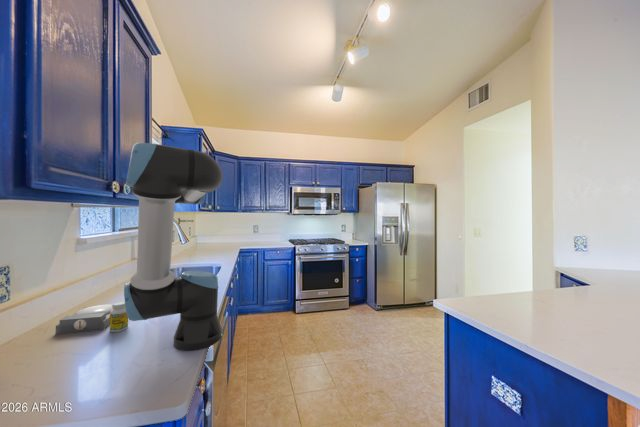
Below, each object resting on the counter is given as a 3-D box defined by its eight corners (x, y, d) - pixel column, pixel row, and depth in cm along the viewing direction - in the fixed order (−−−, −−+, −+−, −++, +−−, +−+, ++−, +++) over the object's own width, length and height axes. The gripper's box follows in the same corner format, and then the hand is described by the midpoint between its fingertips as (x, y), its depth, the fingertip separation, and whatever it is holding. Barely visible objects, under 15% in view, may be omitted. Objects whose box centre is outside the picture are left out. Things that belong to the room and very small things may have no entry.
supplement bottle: (128, 324, 98) (129, 300, 98) (127, 330, 94) (128, 304, 94) (110, 328, 95) (111, 302, 95) (108, 333, 91) (109, 306, 91)
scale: (103, 330, 94) (103, 316, 94) (54, 334, 89) (55, 320, 89) (124, 311, 111) (124, 300, 111) (84, 314, 107) (84, 303, 107)
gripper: (169, 217, 103) (168, 270, 102) (155, 216, 121) (154, 261, 120) (147, 217, 98) (146, 272, 97) (136, 216, 116) (134, 263, 115)
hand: (150, 266), depth 109 cm, fingers open, 13 cm apart
